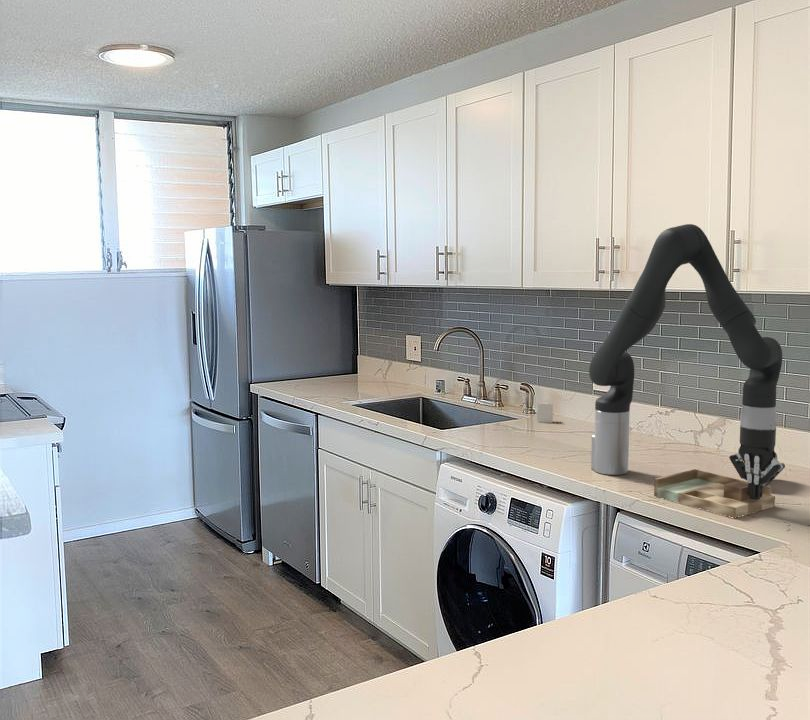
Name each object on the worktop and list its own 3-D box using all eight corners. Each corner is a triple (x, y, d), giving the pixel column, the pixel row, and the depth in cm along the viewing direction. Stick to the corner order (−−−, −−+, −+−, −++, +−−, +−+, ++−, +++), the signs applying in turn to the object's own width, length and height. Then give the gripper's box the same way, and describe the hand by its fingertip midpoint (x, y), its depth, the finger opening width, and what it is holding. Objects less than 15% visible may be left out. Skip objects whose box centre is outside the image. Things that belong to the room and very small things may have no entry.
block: (723, 496, 191) (724, 484, 191) (734, 493, 194) (735, 481, 194) (740, 501, 188) (741, 488, 187) (752, 498, 190) (752, 485, 190)
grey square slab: (538, 421, 300) (538, 401, 300) (556, 422, 298) (557, 402, 298) (536, 423, 297) (536, 403, 296) (555, 424, 295) (556, 404, 294)
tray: (654, 496, 201) (654, 478, 201) (694, 486, 210) (694, 469, 210) (734, 518, 183) (734, 499, 183) (774, 506, 192) (775, 488, 192)
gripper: (722, 422, 189) (719, 495, 191) (776, 431, 178) (772, 508, 180) (741, 418, 193) (738, 490, 195) (795, 427, 182) (791, 503, 184)
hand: (755, 499), depth 187 cm, fingers closed
